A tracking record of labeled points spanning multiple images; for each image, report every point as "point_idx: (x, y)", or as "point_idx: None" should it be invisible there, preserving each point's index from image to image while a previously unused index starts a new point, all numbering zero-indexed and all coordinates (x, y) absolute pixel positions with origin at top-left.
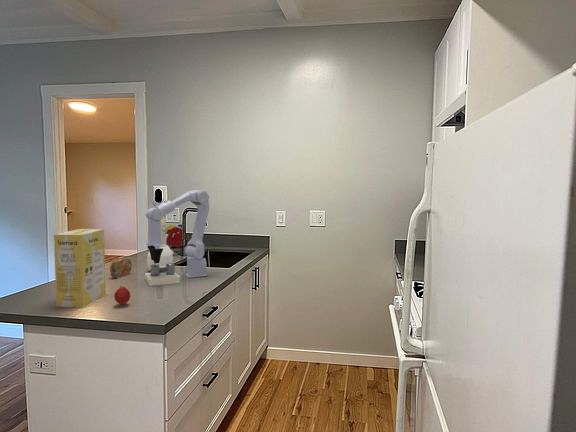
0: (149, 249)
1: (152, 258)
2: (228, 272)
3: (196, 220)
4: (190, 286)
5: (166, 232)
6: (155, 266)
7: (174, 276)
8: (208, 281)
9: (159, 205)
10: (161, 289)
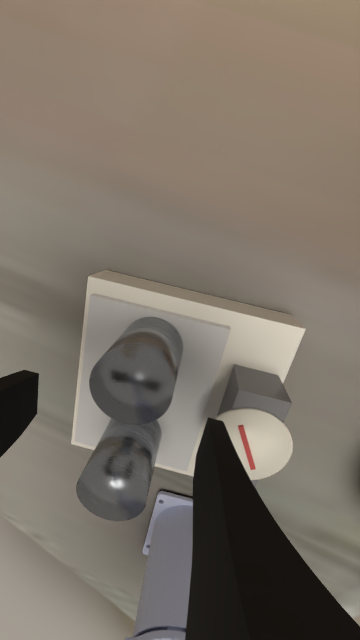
0: (233, 571)
1: (207, 441)
2: None
3: None
4: None
5: None
6: (91, 373)
7: (78, 424)
8: (56, 509)
9: None
10: (3, 294)
